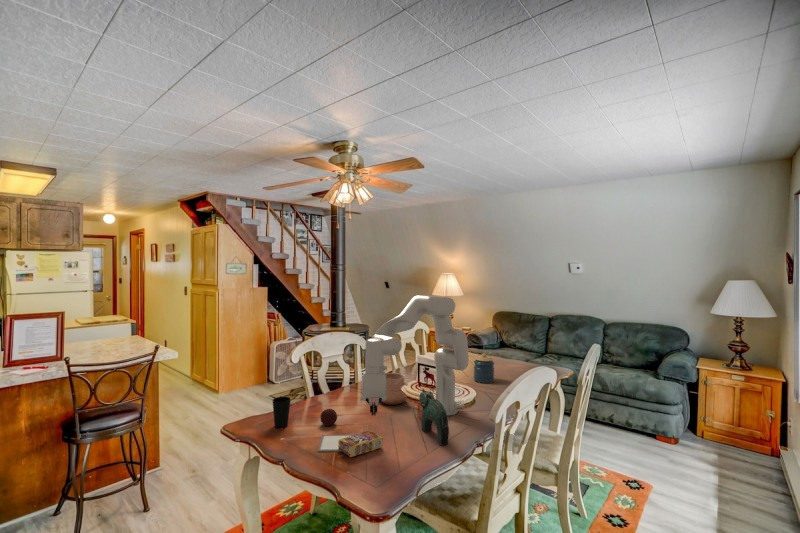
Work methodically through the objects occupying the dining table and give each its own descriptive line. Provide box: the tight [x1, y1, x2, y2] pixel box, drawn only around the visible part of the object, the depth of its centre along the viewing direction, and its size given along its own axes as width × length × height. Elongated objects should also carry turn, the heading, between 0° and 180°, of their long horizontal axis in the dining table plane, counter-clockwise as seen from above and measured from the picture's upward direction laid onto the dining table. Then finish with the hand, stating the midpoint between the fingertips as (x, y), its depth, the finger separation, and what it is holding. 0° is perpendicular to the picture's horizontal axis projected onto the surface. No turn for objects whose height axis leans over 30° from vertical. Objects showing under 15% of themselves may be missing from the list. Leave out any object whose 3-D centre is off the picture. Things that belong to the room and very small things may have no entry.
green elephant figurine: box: [418, 387, 450, 447], centre depth 168 cm, size 20×6×20 cm, turn 23°
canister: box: [473, 352, 495, 384], centre depth 251 cm, size 13×13×18 cm
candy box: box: [338, 429, 384, 458], centre depth 154 cm, size 9×4×15 cm
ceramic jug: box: [381, 372, 409, 406], centre depth 209 cm, size 18×14×14 cm
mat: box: [317, 434, 376, 453], centre depth 160 cm, size 22×14×1 cm, turn 94°
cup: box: [272, 396, 291, 430], centre depth 175 cm, size 8×8×12 cm
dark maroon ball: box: [320, 408, 338, 427], centre depth 178 cm, size 7×8×7 cm
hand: (373, 414), depth 160 cm, fingers closed
